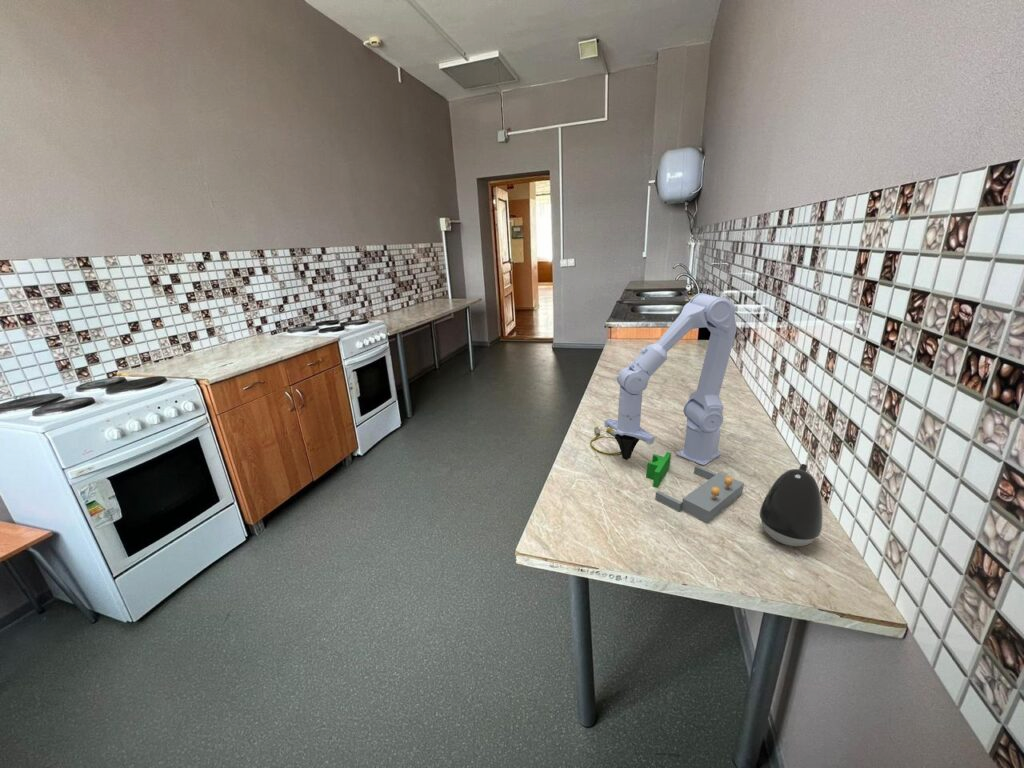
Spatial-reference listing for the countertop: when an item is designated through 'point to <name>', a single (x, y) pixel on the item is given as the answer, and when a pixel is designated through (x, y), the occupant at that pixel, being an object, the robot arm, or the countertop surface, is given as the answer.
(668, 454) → the pipe clamp
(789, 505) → the black rounded dome
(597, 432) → the extension cord
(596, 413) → the countertop surface
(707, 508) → the pegged forked bracket
